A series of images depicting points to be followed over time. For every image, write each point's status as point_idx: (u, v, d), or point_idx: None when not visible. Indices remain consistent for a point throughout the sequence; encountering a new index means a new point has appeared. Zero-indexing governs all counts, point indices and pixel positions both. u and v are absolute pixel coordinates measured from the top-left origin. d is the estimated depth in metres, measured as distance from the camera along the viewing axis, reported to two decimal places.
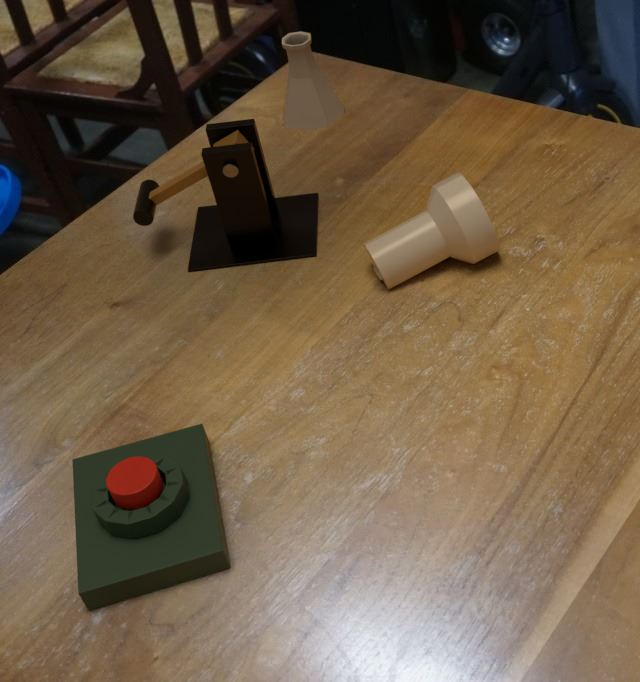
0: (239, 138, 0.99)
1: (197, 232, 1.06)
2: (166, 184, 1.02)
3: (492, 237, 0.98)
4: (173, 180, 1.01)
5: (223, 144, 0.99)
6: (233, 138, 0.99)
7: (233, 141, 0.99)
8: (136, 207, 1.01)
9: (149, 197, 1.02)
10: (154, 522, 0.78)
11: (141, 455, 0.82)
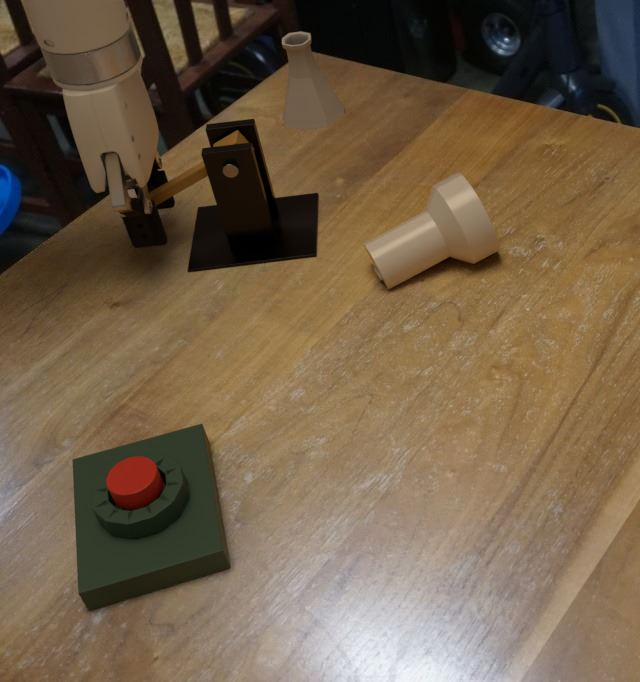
0: (239, 138, 0.99)
1: (197, 232, 1.06)
2: (166, 184, 1.02)
3: (492, 237, 0.98)
4: (173, 180, 1.01)
5: (223, 144, 0.99)
6: (233, 138, 0.99)
7: (233, 141, 0.99)
8: None
9: None
10: (154, 522, 0.78)
11: (141, 455, 0.82)
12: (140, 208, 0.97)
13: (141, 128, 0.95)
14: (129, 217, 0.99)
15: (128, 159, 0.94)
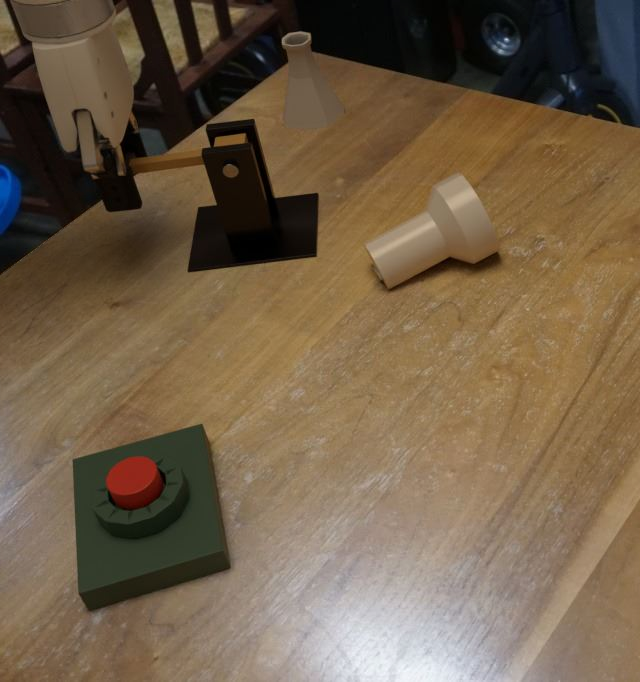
0: (245, 142, 0.99)
1: (197, 232, 1.06)
2: (151, 158, 1.00)
3: (492, 237, 0.98)
4: (160, 156, 1.00)
5: (228, 142, 0.99)
6: (240, 140, 0.99)
7: (240, 143, 0.99)
8: None
9: (129, 164, 0.99)
10: (154, 522, 0.78)
11: (141, 455, 0.82)
12: (113, 169, 0.94)
13: (114, 86, 0.92)
14: (102, 179, 0.96)
15: (100, 117, 0.91)
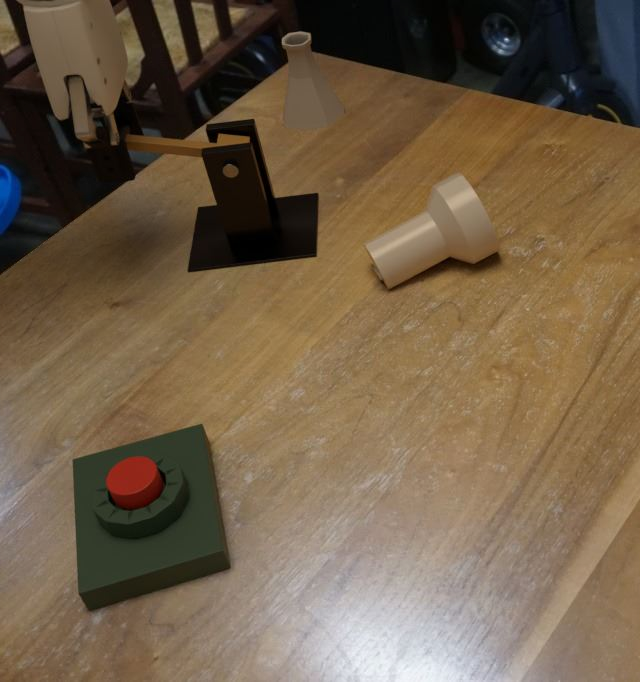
0: None
1: (197, 232, 1.06)
2: (149, 138, 0.98)
3: (492, 237, 0.98)
4: (159, 139, 0.98)
5: (232, 142, 0.99)
6: None
7: None
8: None
9: (125, 139, 0.97)
10: (154, 522, 0.78)
11: (141, 455, 0.82)
12: (106, 138, 0.92)
13: (108, 52, 0.90)
14: (94, 148, 0.94)
15: (93, 83, 0.89)
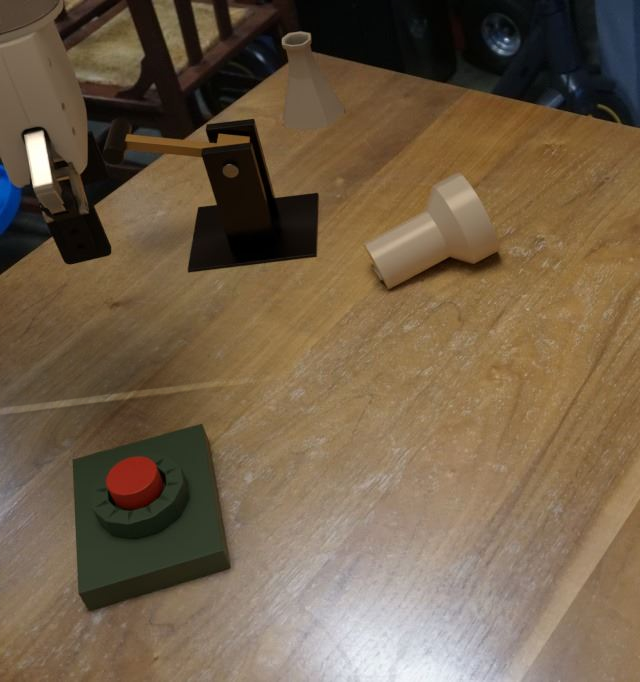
0: None
1: (197, 232, 1.06)
2: (149, 138, 0.98)
3: (492, 237, 0.98)
4: (159, 139, 0.98)
5: (232, 142, 0.99)
6: None
7: None
8: (112, 142, 0.96)
9: (125, 139, 0.97)
10: (154, 522, 0.78)
11: (141, 455, 0.82)
12: (74, 206, 0.71)
13: (70, 95, 0.71)
14: (58, 221, 0.72)
15: (60, 135, 0.70)
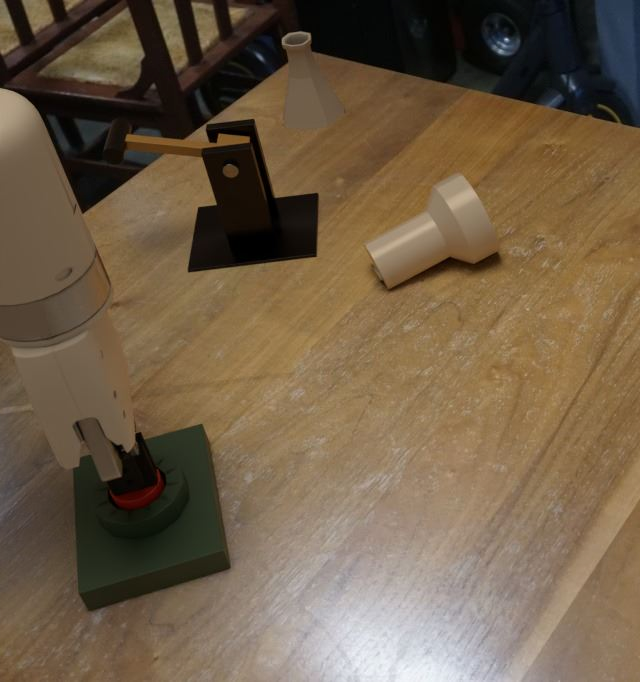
0: None
1: (197, 232, 1.06)
2: (149, 138, 0.98)
3: (492, 237, 0.98)
4: (159, 139, 0.98)
5: (232, 142, 0.99)
6: None
7: None
8: (112, 142, 0.96)
9: (125, 139, 0.97)
10: (154, 522, 0.78)
11: None
12: None
13: (119, 374, 0.70)
14: None
15: (111, 423, 0.68)
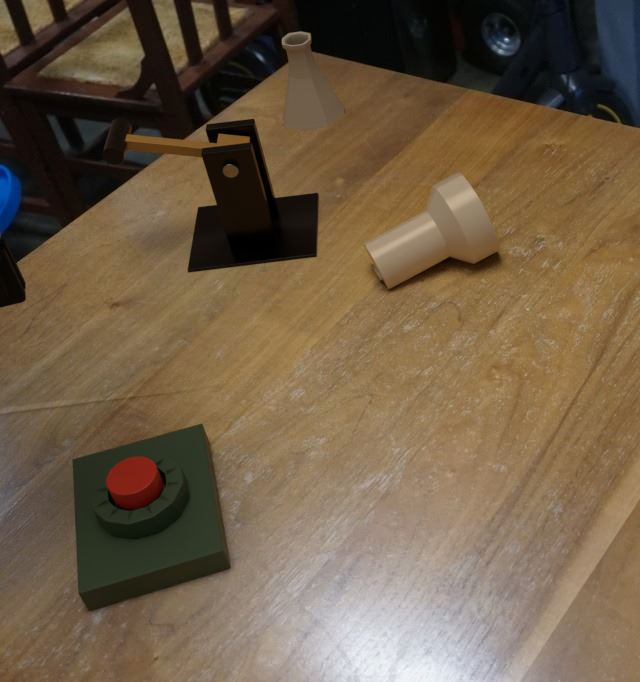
0: None
1: (197, 232, 1.06)
2: (149, 138, 0.98)
3: (492, 237, 0.98)
4: (159, 139, 0.98)
5: (232, 142, 0.99)
6: None
7: None
8: (112, 142, 0.96)
9: (125, 139, 0.97)
10: (154, 522, 0.78)
11: (141, 455, 0.82)
12: None
13: None
14: None
15: None
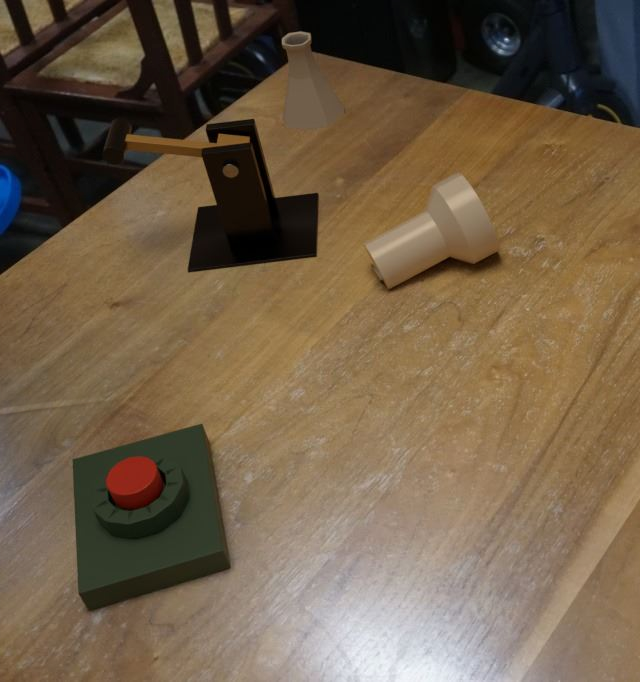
0: None
1: (197, 232, 1.06)
2: (149, 138, 0.98)
3: (492, 237, 0.98)
4: (159, 139, 0.98)
5: (232, 142, 0.99)
6: None
7: None
8: (112, 142, 0.96)
9: (125, 139, 0.97)
10: (154, 522, 0.78)
11: (141, 455, 0.82)
12: None
13: None
14: None
15: None
